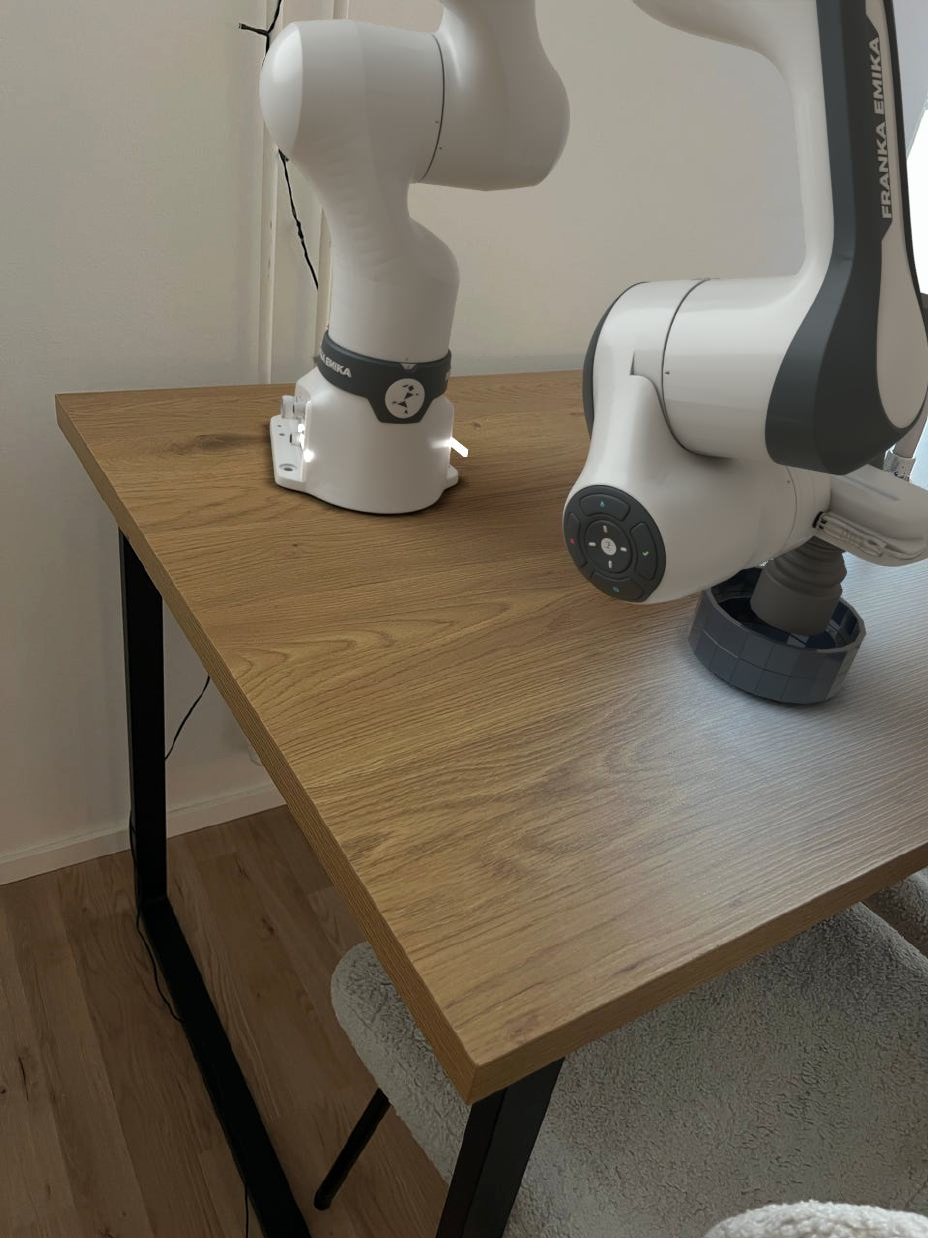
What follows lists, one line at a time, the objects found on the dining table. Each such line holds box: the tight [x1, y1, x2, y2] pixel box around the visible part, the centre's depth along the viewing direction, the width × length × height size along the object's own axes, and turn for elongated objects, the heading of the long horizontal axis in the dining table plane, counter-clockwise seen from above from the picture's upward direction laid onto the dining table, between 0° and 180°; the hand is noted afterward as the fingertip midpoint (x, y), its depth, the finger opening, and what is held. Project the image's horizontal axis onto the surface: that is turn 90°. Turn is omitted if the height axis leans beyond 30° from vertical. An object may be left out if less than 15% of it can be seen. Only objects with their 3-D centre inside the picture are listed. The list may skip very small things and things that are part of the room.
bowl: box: [687, 564, 867, 705], centre depth 83 cm, size 13×13×6 cm
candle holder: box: [750, 292, 928, 636], centre depth 73 cm, size 6×6×25 cm
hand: (850, 457), depth 75 cm, fingers closed on candle holder
